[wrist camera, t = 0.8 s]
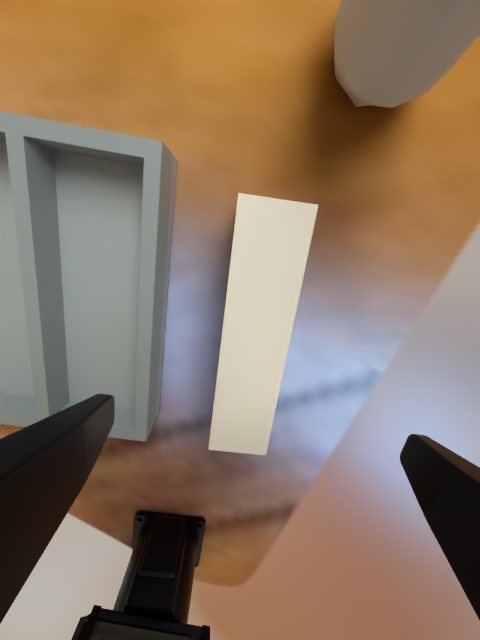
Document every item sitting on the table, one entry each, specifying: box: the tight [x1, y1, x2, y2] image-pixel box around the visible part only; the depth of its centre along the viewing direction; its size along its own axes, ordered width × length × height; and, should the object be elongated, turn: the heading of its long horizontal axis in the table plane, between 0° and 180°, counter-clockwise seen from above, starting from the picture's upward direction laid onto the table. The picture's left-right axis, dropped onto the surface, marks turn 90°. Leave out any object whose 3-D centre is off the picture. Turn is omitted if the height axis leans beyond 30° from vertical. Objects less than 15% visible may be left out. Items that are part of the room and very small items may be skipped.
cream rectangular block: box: [208, 193, 318, 455], centre depth 15 cm, size 14×4×5 cm, turn 172°
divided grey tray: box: [0, 111, 177, 442], centre depth 15 cm, size 18×13×3 cm
